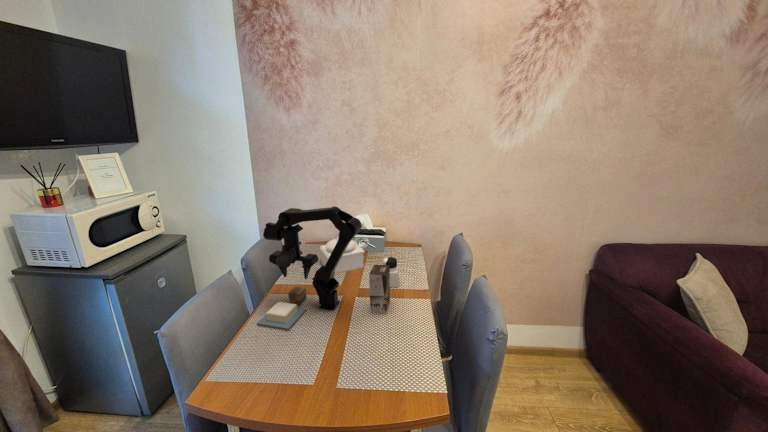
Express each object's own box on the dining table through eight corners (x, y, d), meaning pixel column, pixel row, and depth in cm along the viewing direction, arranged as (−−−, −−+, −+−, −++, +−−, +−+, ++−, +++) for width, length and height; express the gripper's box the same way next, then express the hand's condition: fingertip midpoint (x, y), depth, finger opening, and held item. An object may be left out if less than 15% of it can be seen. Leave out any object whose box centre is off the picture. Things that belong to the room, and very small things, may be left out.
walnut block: (306, 298, 135) (305, 288, 134) (300, 305, 131) (299, 294, 129) (295, 297, 137) (294, 286, 135) (289, 303, 132) (288, 292, 131)
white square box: (320, 261, 170) (318, 232, 166) (353, 255, 178) (351, 227, 173) (329, 275, 155) (327, 244, 151) (365, 267, 162) (364, 237, 158)
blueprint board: (306, 310, 127) (305, 301, 126) (288, 331, 115) (287, 321, 114) (277, 306, 130) (276, 297, 129) (256, 325, 118) (255, 315, 117)
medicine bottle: (398, 279, 149) (398, 255, 146) (397, 287, 142) (397, 262, 139) (383, 279, 150) (382, 255, 146) (381, 287, 143) (380, 262, 140)
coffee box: (386, 314, 123) (385, 275, 119) (369, 312, 125) (368, 274, 120) (390, 301, 132) (390, 264, 127) (375, 299, 133) (374, 263, 129)
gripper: (257, 247, 121) (263, 285, 126) (302, 251, 116) (306, 290, 121) (275, 236, 131) (279, 272, 136) (317, 240, 126) (320, 276, 131)
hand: (295, 277), depth 131 cm, fingers open, 9 cm apart
